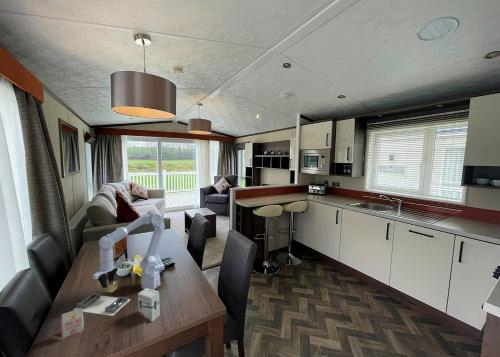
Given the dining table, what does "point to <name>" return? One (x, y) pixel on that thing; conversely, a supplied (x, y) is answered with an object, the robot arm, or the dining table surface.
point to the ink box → (149, 304)
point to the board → (101, 306)
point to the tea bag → (71, 323)
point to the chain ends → (94, 297)
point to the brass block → (108, 286)
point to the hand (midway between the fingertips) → (107, 285)
